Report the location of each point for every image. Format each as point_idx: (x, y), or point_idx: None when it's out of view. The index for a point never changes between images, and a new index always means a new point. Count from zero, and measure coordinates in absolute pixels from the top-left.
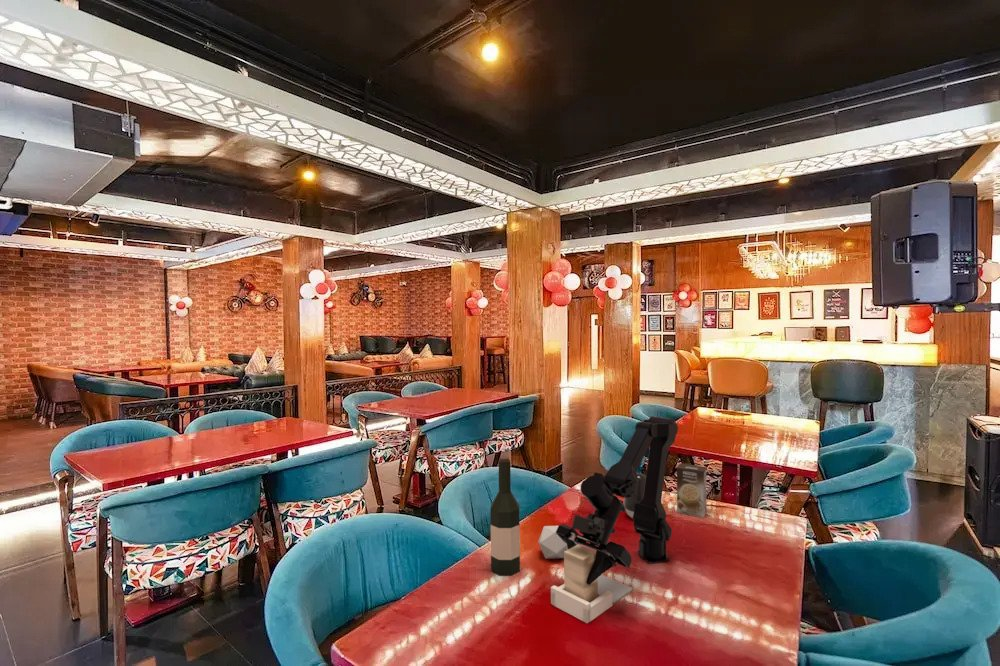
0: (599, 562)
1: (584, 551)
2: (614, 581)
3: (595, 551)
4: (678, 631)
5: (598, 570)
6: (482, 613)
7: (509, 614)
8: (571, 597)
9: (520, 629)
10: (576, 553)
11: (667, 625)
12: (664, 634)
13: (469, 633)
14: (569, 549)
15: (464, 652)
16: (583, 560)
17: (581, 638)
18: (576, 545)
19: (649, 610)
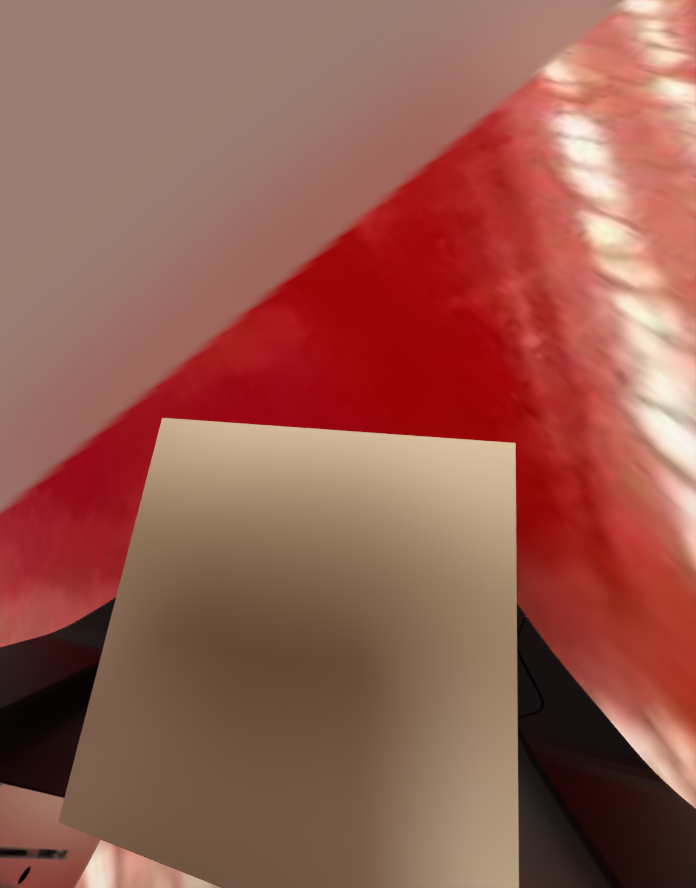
0: (96, 616)
1: (244, 683)
2: None
3: (87, 810)
4: (48, 600)
5: None
6: (620, 251)
7: (539, 310)
8: None
9: (448, 282)
10: (315, 520)
11: (80, 612)
12: (82, 554)
13: (554, 171)
14: (499, 586)
15: (493, 129)
16: (172, 429)
17: (277, 372)
18: (508, 886)
19: None
